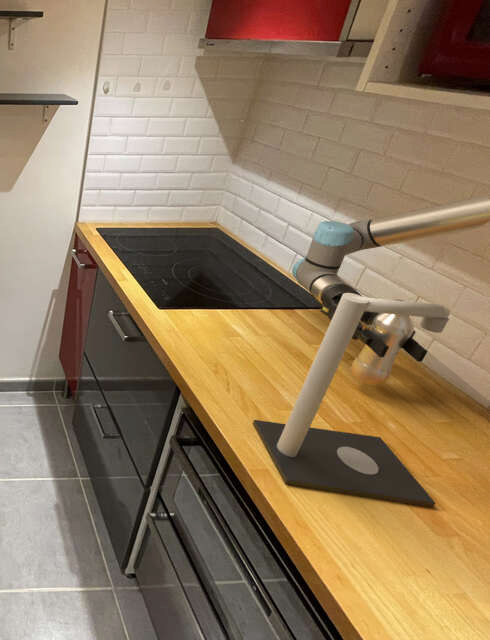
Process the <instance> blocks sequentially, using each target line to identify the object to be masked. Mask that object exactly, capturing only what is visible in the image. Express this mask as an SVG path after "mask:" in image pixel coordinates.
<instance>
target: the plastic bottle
mask: <svg viewBox="0 0 490 640" xmlns="http://www.w3.org/2000/svg"><path fill="white" fill-rule="evenodd" d="M393 300H397V301H405V300H403V299H397V298H394V299H393ZM411 318H412V317H411V316H407V315H397V314H387V313H380V314H378V315H377V316H376V317H375V318H374V319H373V322H372V325H370V326H371V327H370V329H369V330H370V331H372V332H373V333H374V334H375V335H376V336H377V337H378V338H379V339H381V340H382V341H383V342H384V343H385V344H386V345H387V346H388V347H389V348H388V350H387V352H386V354H385V356H384V358H383V357H379V356H378V355H377V354H376V353H375V352H374V351H373V350H372V349H371V348H369V347H368V346H367V345H366V344H364V346H363V348H362V349H361V351H360V352H359V354H358V355H357V356H356V357H355V358H354V360H353V361H352V363H351V367H350V371H351V374H352V375H353V377H355V378H356V379H357V380H359V381H360V382H363V383H365V384H368V385H372V386H380V385H383V384H386V383H387V382H388V380H389V379H390V378H391V375H392V370H393V366H394V363H395V361H396V358H397V356H398V354H399V352H400V351H401V349H402V348H401V347H402V346H403V345H404V343H405V342H406V341H407V340H408V338H409V337H410V336H411V334H412V333H413V331H415V330H414V329H415V326H414V323H413V321H412V319H411Z"/></svg>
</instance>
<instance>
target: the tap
mask: <svg viewBox="0 0 490 640" xmlns="http://www.w3.org/2000/svg"><path fill="white" fill-rule="evenodd" d="M364 311H367V312H377V313H387V314H397V315H407V316H409V317H416V318H417V317H418V318H421V320H420V322H419V324H418V325H419V327H420V328H422V329H423V330H425V331H428V332H431V333H434V334H435V333H436V334H441V333H442V332H443V331H444V329H445V327H446V326H447V323H449V321H450V319H449V318H450V317H449V316H451V315H450V314H451V311H450V309H449V307H447V305H443V304H438V303H437V304H436V303H427V302H419V301H418V302H416V301H407V300H404V301H397V300H394V299H386V298H385V299H384V298H376V297H365V296H363V295H362V296H360V295H357V294H353V293H344V294H343V295H342V297H341V300H340V302H339V304H338V306H337V309H336V311H335V313H334V316H333V318H332V320H330V323H329V325H328V327H327V330H326V332H325V333H324V336H323V338H322V340H321V343H320V345H319V347H318V350H317V352H316V355H315V357H314V359H313V362H312V364H311V366H310V368H309V370H308V373H307V375H306V378H305V379H304V382H303V384H302V387H301V389H300V391H299V394H298V395H297V398H296V400H295V403H294V405H293V407H292V409H291V412H290V414H289V416H288V418H287V420H286V423H282V422H273V421H267V420H260V419H254V420H253V421H252V425H253V427H254V429H255V432H256V433H257V435H258V437H259V439H260V441H261V442H262V444H263V446H264V448H265V450H266V452H267V453H268V455H269V457H270V459H271V461H272V462H273V465H274V466H275V468H276V470H277V472H278V474H279V476H280V477H281V479H282V481H283V482H284V485H288V486H294V487H300V488H307V489H312V490H318V491H324V492H325V491H326V492H331V493H337V494H343V495H344V494H345V495H351V496H357V497H363V498H369V499H376V500H382V501H388V502H394V503H401V504H407V505H413V506H420V507H426V508H432V509H433V508H434V506H435V505H436V502H435V500H434V499H433V498H432V497H431V496H430V495H429V493H428V492H427V491H426V490H425V488H424V487H423V486H422V485H421V484H420V483H419V481H418V480H417V479H416V478H415V476H414V475H413V474H412V473H411V472H410V471H409V469H408V468H407V467H406V466H405V465H404V464H403V462H402V461H401V460H400V459H399V457H398V456H397V455H396V454H395V453H394V452H393V451H392V449H391V448H390V447H389V445H387V443H386V442H385V441H384V440H383V438H382V437H381V436H375V435H368V434H360V433H352V432H345V431H338V430H332V429H323V428H317V427H311V426H312V424H313V421H314V420H315V418H316V415H317V414H318V412H319V408H320V407H321V404H322V403H323V400H324V398H325V396H326V393H327V391H328V389H329V387H330V386H331V383H332V381H333V379H334V378H335V374H336V372H337V371H338V368H339V366H340V364H341V362H342V360H343V358H344V355H345V353H346V352H347V349H348V347H349V344H350V342H351V341H352V336H353V334H354V332H355V330H356V328H357V325H358V323H359V321H360V319H361V317H362V315H363V313H364ZM360 322H361V321H360Z"/></svg>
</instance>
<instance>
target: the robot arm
mask: <svg viewBox="0 0 490 640" xmlns="http://www.w3.org/2000/svg"><path fill="white" fill-rule="evenodd" d="M473 197H474V198H472V197H468V199H467V198H463V199H458V200H453V201H449V202H445V203H439V204H435V205H430V206H426V207H421V208H417V209H413V210H408V211H403V212H398V213H395V214H390V215H385V216H381V217H376V218H371V219H367V220H359V221H354V222H351V223H349V224H347V223H345V222H340V221H336V220H324V221H321V222H320V223H318V226H317V227H316V230H315V231H314V232H313V237H312V239H311V242H310V245H309V247H308V251H307V254H306V256H305V257H303V258H301V259H299V260H298V261H297V262H296V263H295V264H294V265H293V267H292V268H291V269H292V270H291V274H292V276H293V277H294V278H295V280H296V281H297V283H298V284H299V285H300V286H301V287H303V288H304V289H305V290H307V291H308V292H309V293H310V295H312V297H314V298H315V299H316V300H317V301H318V302H319V303H320V304H321V308H320V313H322V314H323V315H325V316H326V317H327V318H328V319H329V321H331V320H332V318H333V316H334V313H335V311H336V309H337V306H338V304H339V302H340V300H341V297H342V295H343V294H344V293H353V294H357V295H360V296H362V297H363V295H362V294H361V293H360V292H359V291H357V290H356V289H355V288H354V287H352V286H351V284H349V283H347V281H345V280H344V279H342V278H341V277H340V276H339V275H338V273H339V270H340V268H341V266H342V264H343V262H344V259H345V256H347V255H350V254H354V253H357V252H360V251H363V250H369V249H376V248H381V247H385V246H392V245H393V246H394V245H398V244H403V243H404V244H405V243H411V242H416V241H422V240H428V239H429V240H430V239H434V238H441V237H447V236H453V235H459V234H463V233H462V232H465V231H469V230H473V229H476V228H479V227H481V226H484V225H485V224H486V223H487V222H489V221H490V199H489V198H486V197H476V196H473ZM458 233H459V234H458ZM465 233H466V232H465ZM378 314H380V313H377V312H367V311H364V313H363V315H362V317H361V319H360V321H359V323H358V325H357V328H356V330H355V332H354V334H353V336H352V338H351V340H353V341H358V340H360V342H362V343H363V344H364V345H365V344H366V345H367V346H368V347H369V348H371V349H372V350H373V351H374V352H375V353H376V354H377V355H378V356H379V357H383V358H384V356H385V354H386V352H387V350H388V348H389V347H388V346H387V345H386V344H385V343H384V342H383V341H382V340H381V339H379V338H378V337H377V336H376V335H375V334H374V333H373V332H372V331H370V330H371V329H369V328H366V327H365V328H364V326H363V325H362V323H363V324H365V325H367V326H372V322H373V319H374V318H375V317H376V316H377V315H378ZM415 334H416V331H415V330H414V331H413V333H412V334H411V336H410V337H409V338H408V340H407V341H406V342H405V343H404V345H403V346H402V347H401V349H403V351H405V352H406V353H407V354H408V355H409V356H411V357H412V358H413V359H414V360H415V361H416V362H419V363H422V362H423V361H424V358H425V357H426V355H427V353H428V350H427V349H425V347H423V346H422V345H421V344H420V343H419V342H418V341H417V340H416V339H414V336H415Z"/></svg>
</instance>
